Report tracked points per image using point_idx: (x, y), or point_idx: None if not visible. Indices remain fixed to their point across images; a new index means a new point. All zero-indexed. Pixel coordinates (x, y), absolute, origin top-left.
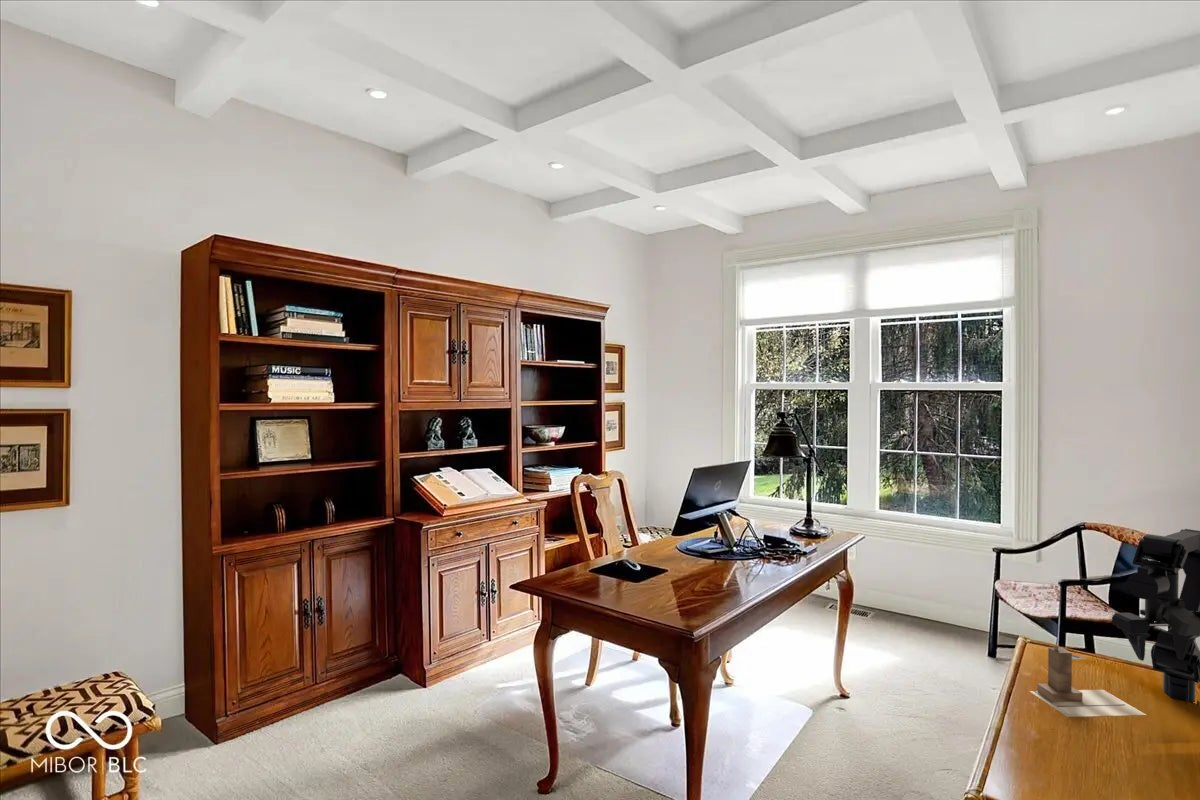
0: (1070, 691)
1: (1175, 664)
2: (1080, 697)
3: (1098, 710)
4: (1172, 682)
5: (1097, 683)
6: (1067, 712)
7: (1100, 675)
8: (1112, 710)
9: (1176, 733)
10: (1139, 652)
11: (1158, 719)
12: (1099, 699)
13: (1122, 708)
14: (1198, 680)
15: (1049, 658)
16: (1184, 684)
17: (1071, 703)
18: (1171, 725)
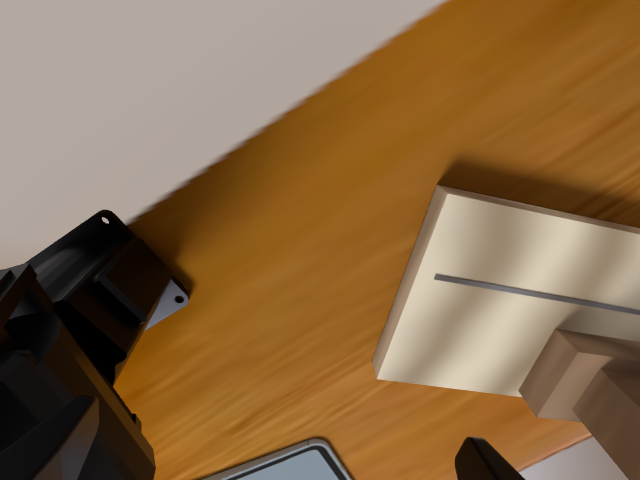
0: (604, 368)
1: (95, 395)
2: (573, 340)
3: (585, 266)
4: (132, 326)
5: (292, 422)
6: None
7: (222, 458)
8: (535, 254)
9: (431, 72)
10: None
11: (368, 186)
12: (477, 327)
13: (477, 258)
14: (14, 271)
15: None
16: (92, 294)
17: (607, 325)
18: (372, 133)
